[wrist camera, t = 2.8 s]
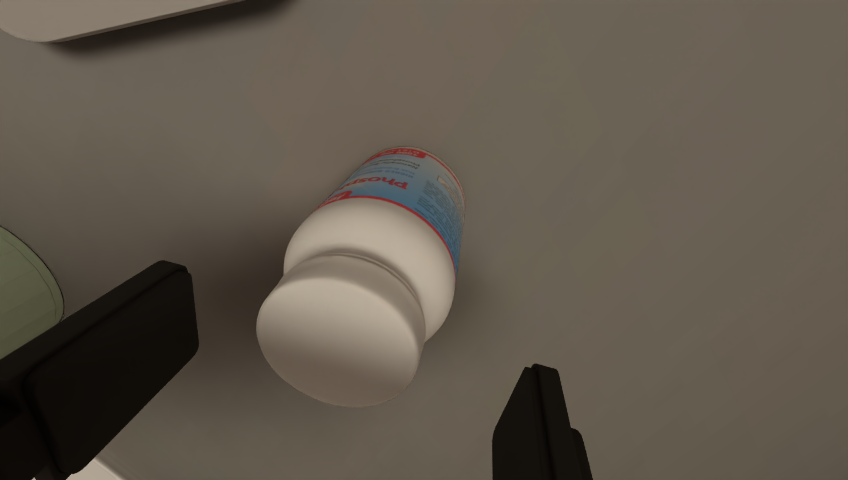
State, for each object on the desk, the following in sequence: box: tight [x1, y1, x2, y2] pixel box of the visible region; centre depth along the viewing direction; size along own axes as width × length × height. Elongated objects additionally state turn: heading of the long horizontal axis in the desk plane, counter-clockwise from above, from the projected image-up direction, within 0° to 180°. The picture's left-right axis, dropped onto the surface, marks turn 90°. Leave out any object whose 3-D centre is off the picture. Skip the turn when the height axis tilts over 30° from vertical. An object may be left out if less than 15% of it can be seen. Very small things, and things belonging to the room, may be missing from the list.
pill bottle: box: [256, 147, 465, 407], centre depth 15 cm, size 6×6×11 cm
